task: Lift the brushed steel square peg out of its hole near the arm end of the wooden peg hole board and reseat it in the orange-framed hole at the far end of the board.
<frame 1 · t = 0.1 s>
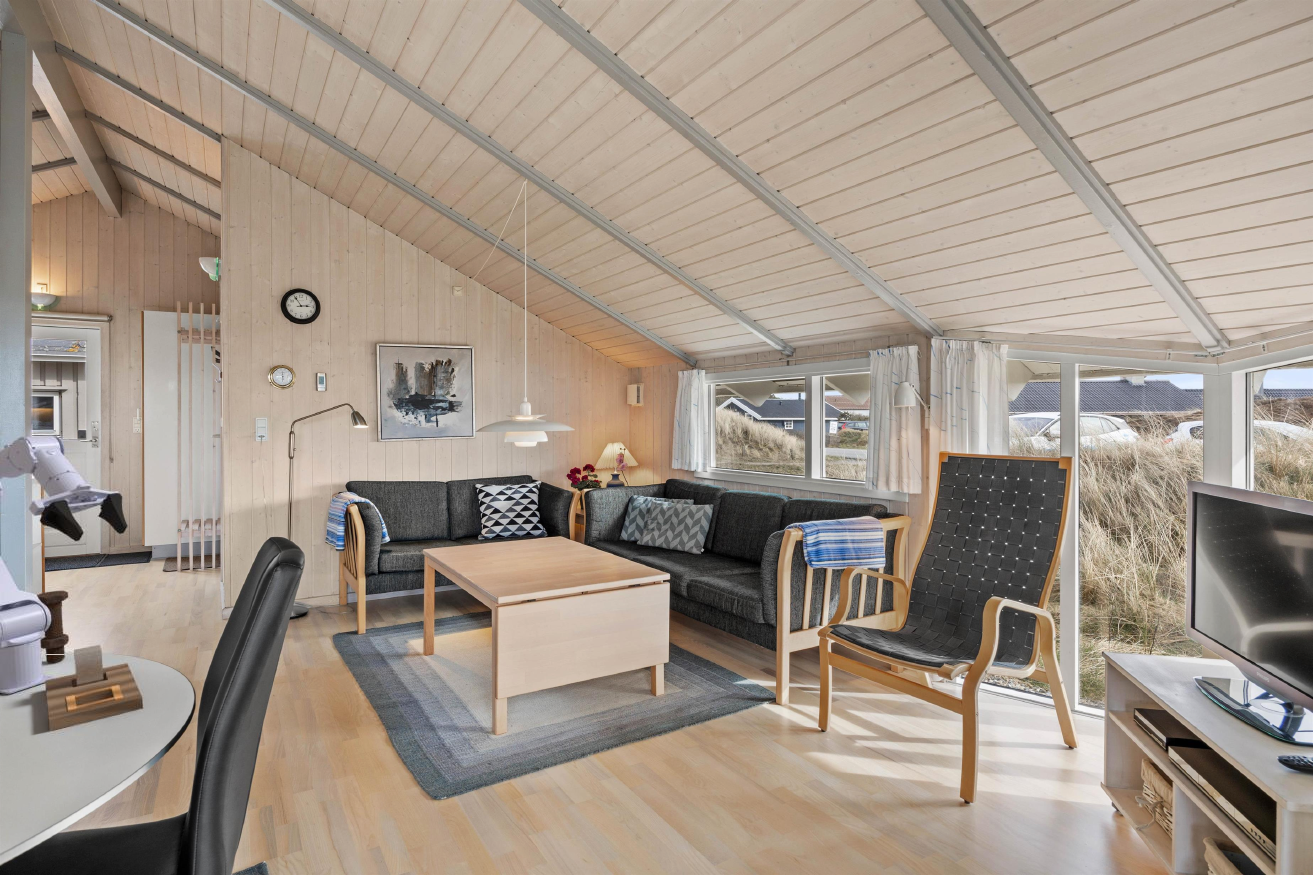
hand: (102, 533, 132), 32 cm above the table, tool tilted 50°, fingers open, 7 cm apart
bolt: (55, 662, 157), on the table
steel peg: (90, 689, 141), resting in wooden peg hole board
wooden peg hole board: (92, 698, 136), on the table
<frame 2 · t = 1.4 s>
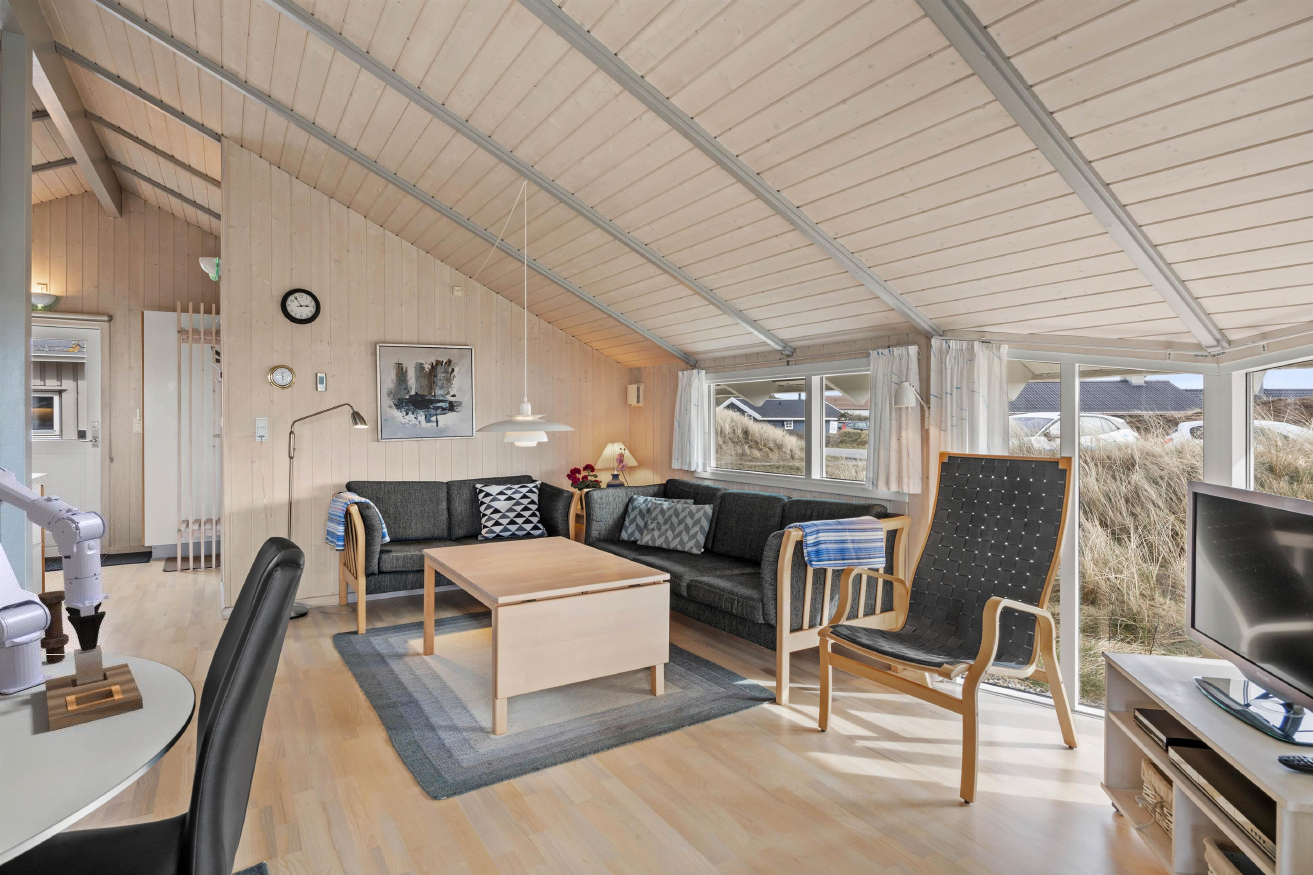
hand: (87, 644, 140), 9 cm above the table, tool pointing down, fingers open, 7 cm apart
nothing on the table moved.
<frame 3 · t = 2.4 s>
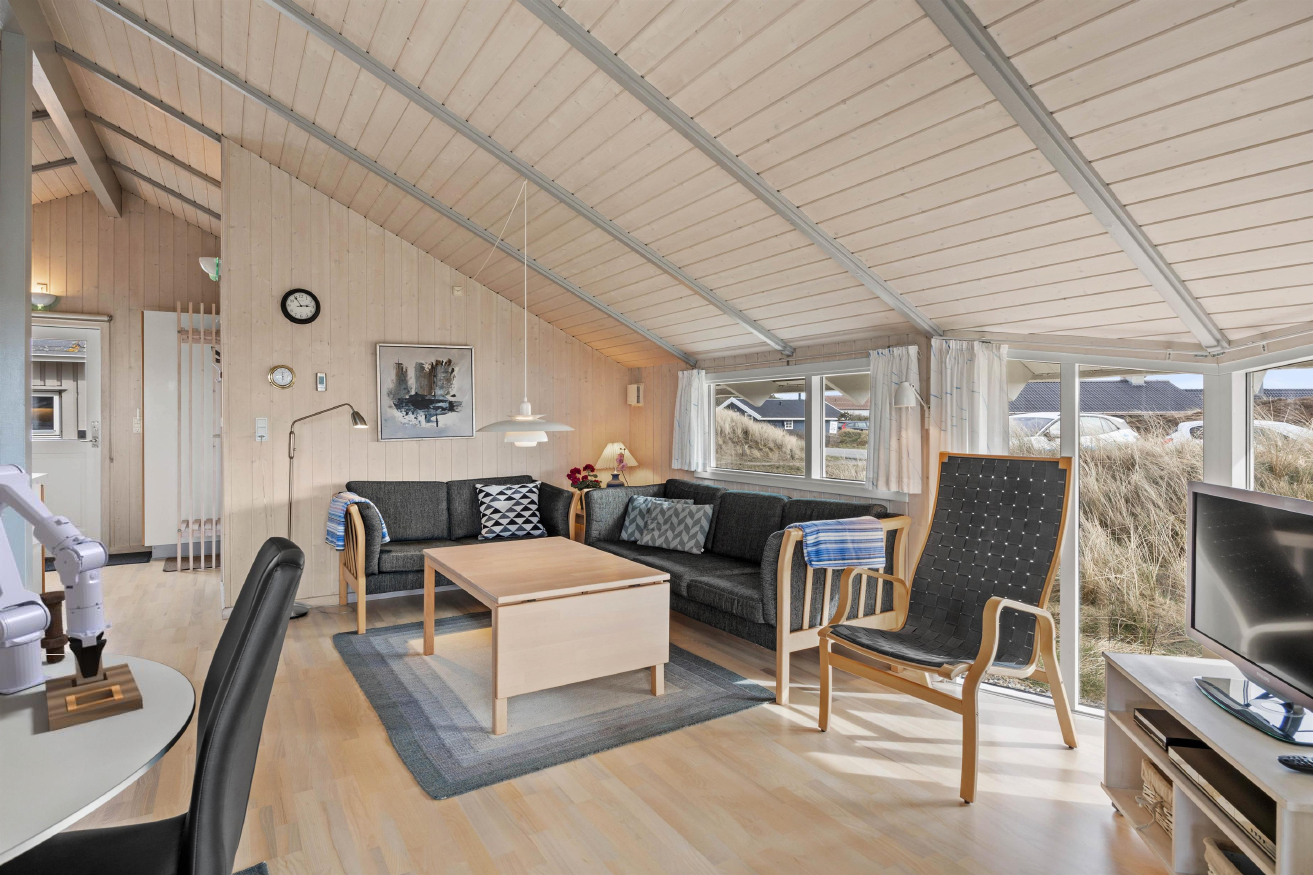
hand: (89, 673, 140), 3 cm above the table, tool pointing down, fingers closed on steel peg, 4 cm apart
steel peg: (90, 689, 141), resting in wooden peg hole board, touching gripper
everything else where it was.
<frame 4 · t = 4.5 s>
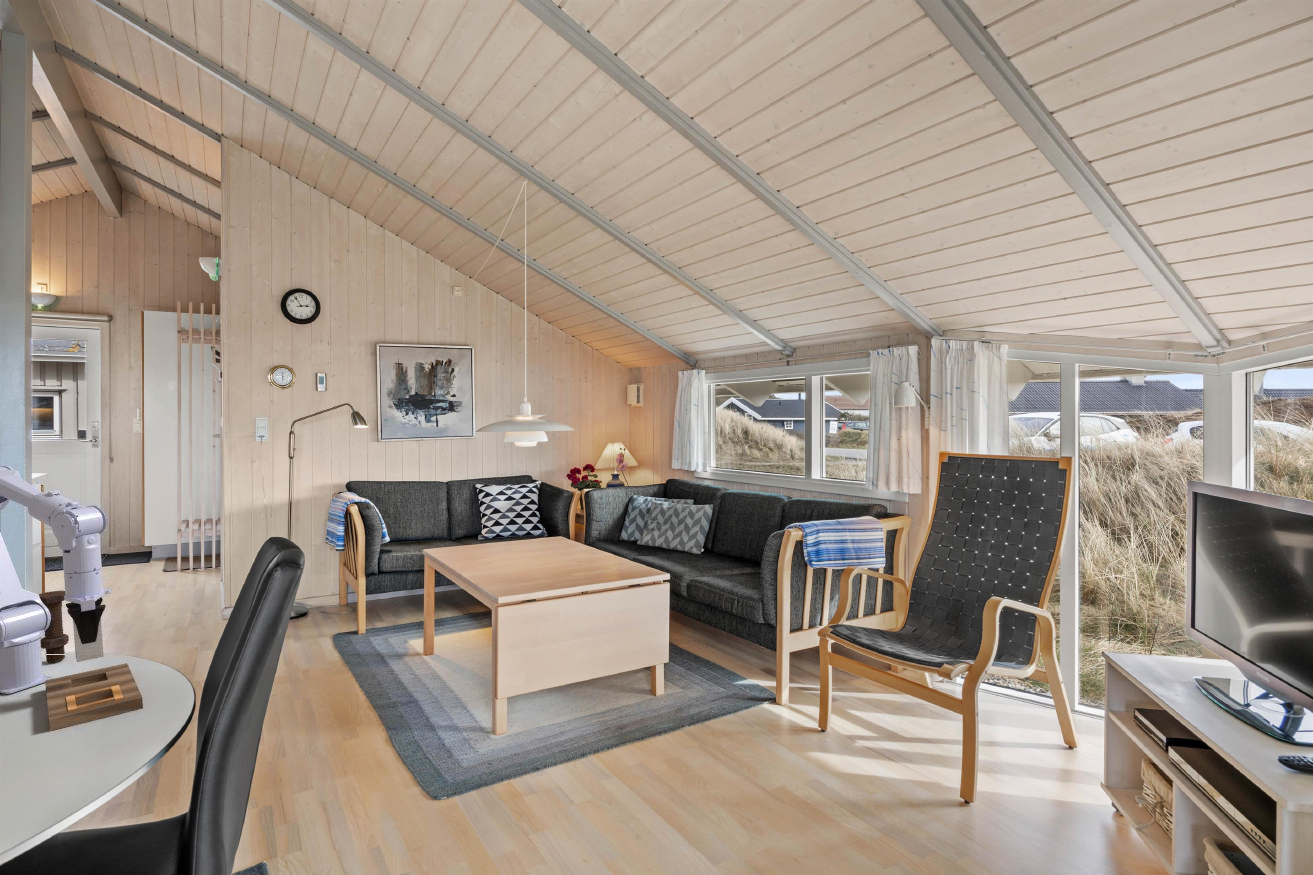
hand: (87, 639, 139), 10 cm above the table, tool pointing down, fingers closed on steel peg, 4 cm apart
steel peg: (89, 656, 139), point 7 cm above the table, touching gripper
everything else where it was.
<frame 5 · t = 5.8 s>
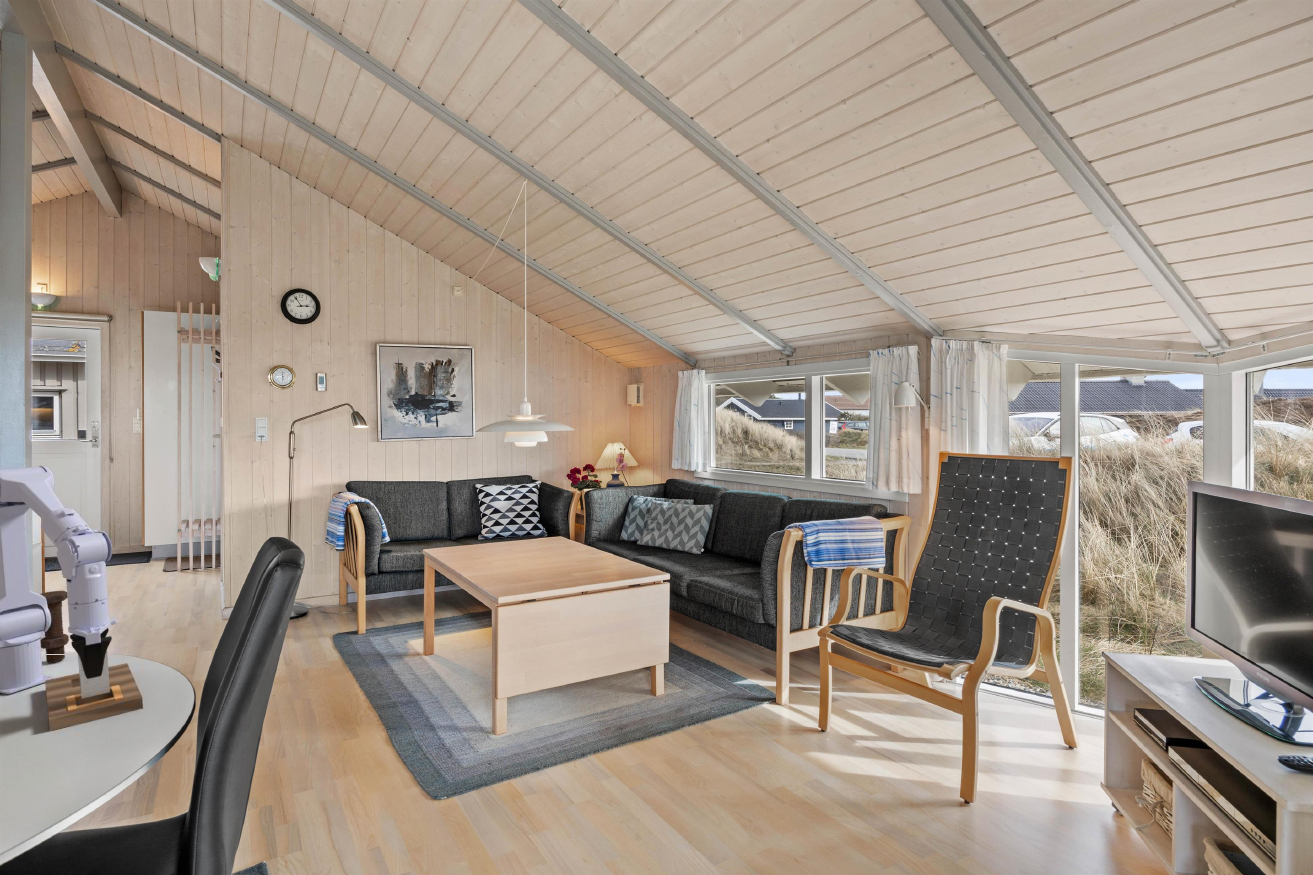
hand: (93, 673, 131), 7 cm above the table, tool pointing down, fingers closed on steel peg, 4 cm apart
steel peg: (95, 692, 132), point 3 cm above the table, touching gripper
everything else where it was.
when the fingers open (4 cm above the table, at t = 6.6 s): steel peg stays where it is, resting in wooden peg hole board.
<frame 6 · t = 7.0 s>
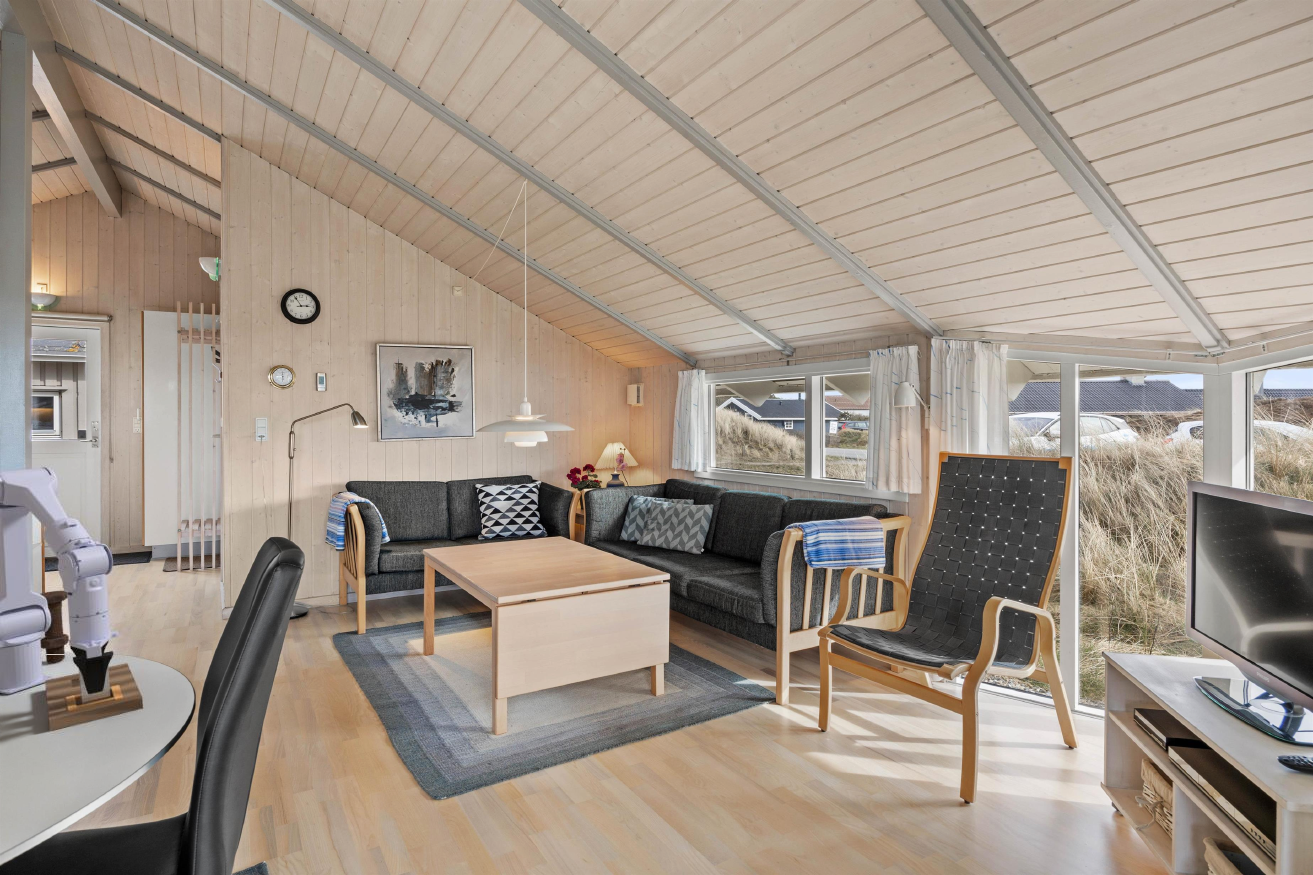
hand: (93, 686, 131), 4 cm above the table, tool pointing down, fingers open, 7 cm apart
steel peg: (96, 708, 132), resting in wooden peg hole board
everything else where it was.
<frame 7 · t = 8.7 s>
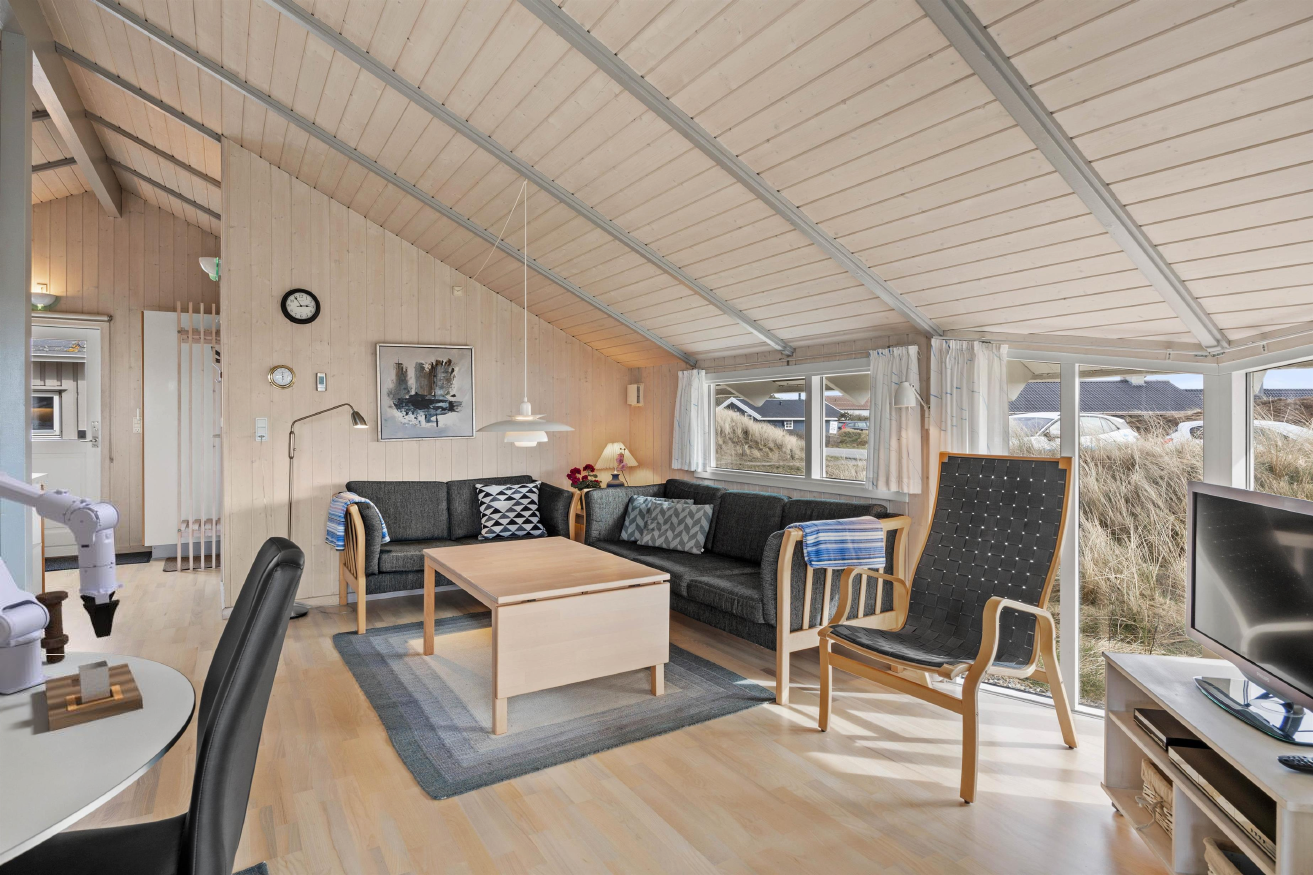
hand: (101, 632, 143), 10 cm above the table, tool pointing down, fingers open, 7 cm apart
nothing on the table moved.
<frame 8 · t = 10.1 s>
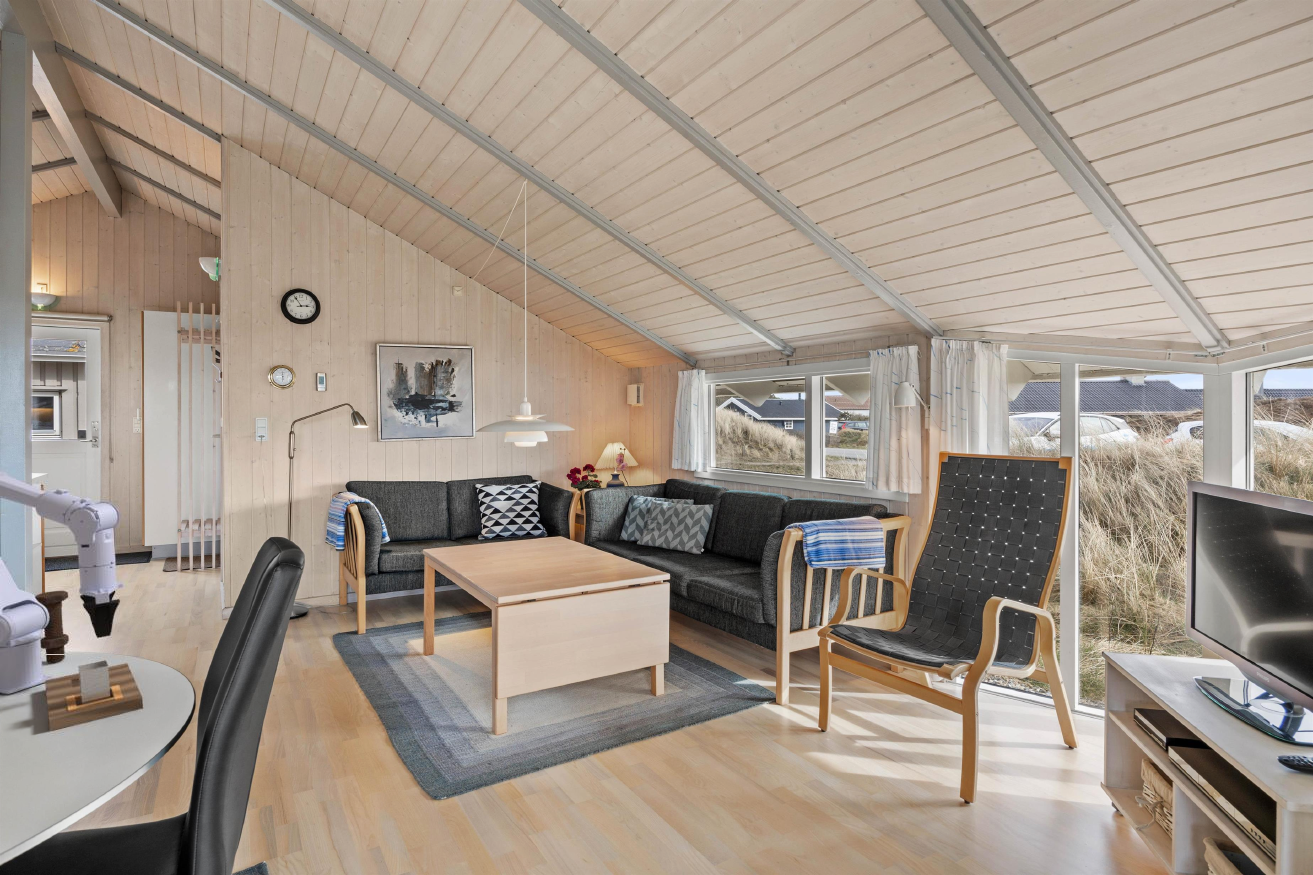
hand: (101, 631, 143), 10 cm above the table, tool pointing down, fingers open, 7 cm apart
nothing on the table moved.
at the end: steel peg 0.1 cm from the target spot, resting in wooden peg hole board; steel peg tilted 0°; the gripper is holding nothing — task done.
